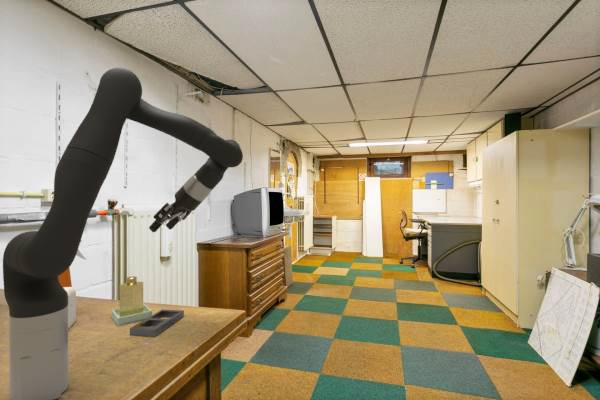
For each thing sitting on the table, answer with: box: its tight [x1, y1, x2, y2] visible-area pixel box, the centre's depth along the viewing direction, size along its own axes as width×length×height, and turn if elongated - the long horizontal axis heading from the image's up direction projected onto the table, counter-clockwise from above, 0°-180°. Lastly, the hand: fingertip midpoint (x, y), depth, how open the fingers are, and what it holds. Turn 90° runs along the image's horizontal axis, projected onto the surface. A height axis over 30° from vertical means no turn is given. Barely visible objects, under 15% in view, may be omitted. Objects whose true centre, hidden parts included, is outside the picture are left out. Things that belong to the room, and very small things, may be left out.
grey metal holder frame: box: [129, 308, 185, 338], centre depth 98 cm, size 8×16×2 cm, turn 171°
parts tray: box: [111, 302, 153, 327], centre depth 104 cm, size 10×10×2 cm
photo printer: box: [63, 286, 77, 329], centre depth 96 cm, size 10×4×12 cm, turn 17°
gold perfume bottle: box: [119, 275, 144, 317], centre depth 104 cm, size 5×5×13 cm
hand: (160, 228), depth 97 cm, fingers open, 8 cm apart
